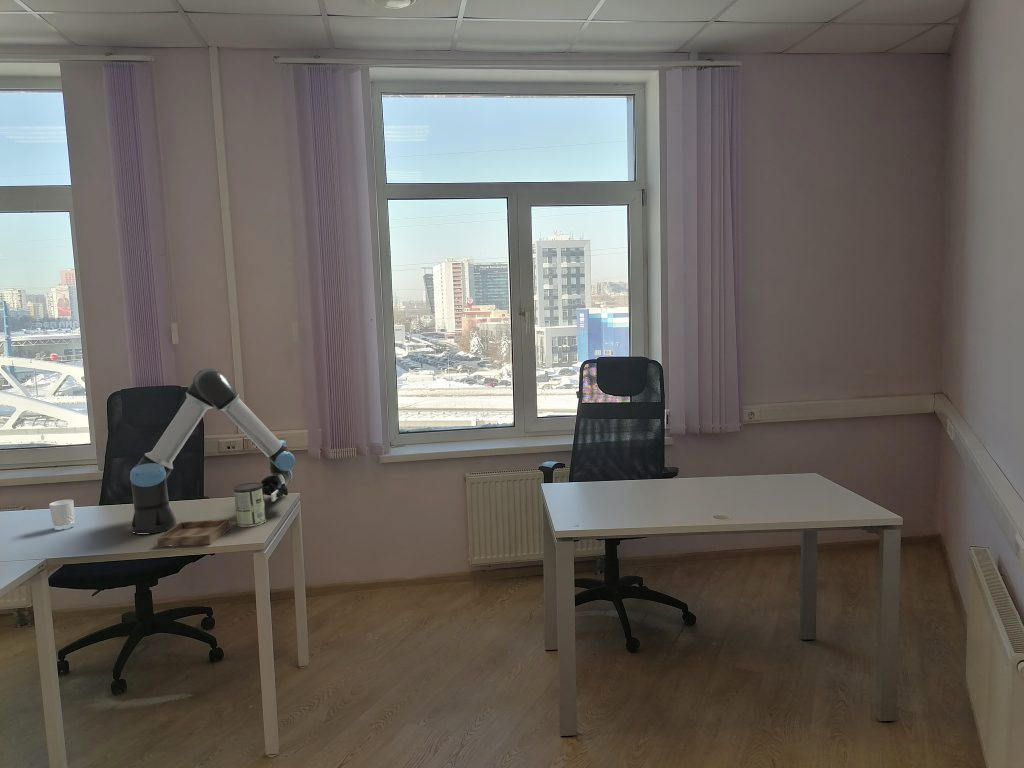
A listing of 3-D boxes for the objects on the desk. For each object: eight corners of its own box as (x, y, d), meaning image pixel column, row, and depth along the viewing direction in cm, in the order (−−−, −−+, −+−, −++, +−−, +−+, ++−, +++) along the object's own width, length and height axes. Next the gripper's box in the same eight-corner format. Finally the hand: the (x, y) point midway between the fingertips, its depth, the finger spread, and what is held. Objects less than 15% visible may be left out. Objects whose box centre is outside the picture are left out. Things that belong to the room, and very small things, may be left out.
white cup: (76, 528, 287) (73, 502, 285) (52, 532, 283) (49, 506, 281) (76, 523, 293) (73, 498, 292) (52, 527, 289) (49, 502, 288)
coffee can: (244, 519, 286) (240, 482, 284) (270, 518, 285) (266, 481, 283) (232, 527, 276) (228, 490, 274) (259, 526, 275) (256, 489, 273)
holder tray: (158, 547, 258) (157, 538, 258) (181, 530, 276) (180, 521, 276) (210, 544, 258) (209, 535, 257) (230, 527, 276) (229, 519, 275)
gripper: (304, 491, 304) (288, 506, 283) (242, 494, 304) (222, 510, 283) (302, 473, 303) (286, 487, 282) (240, 476, 303) (220, 490, 282)
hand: (254, 498), depth 282 cm, fingers open, 13 cm apart
